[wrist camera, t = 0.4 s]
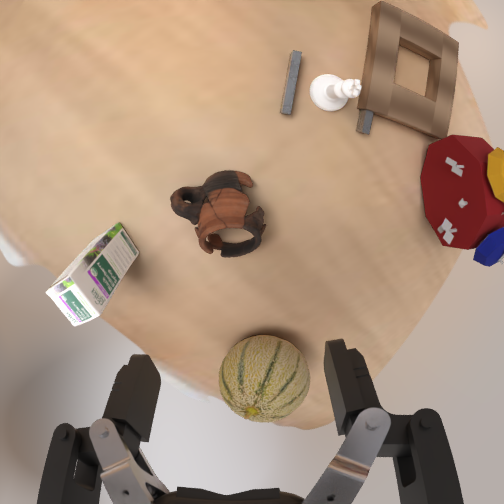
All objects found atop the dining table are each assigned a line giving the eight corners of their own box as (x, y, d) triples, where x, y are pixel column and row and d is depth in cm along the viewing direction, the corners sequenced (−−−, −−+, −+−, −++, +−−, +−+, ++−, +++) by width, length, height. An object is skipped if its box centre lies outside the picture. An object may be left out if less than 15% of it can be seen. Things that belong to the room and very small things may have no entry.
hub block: (372, 6, 23) (381, 0, 20) (446, 44, 24) (458, 42, 22) (356, 108, 30) (366, 108, 28) (433, 137, 32) (445, 140, 29)
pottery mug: (273, 175, 35) (283, 227, 31) (244, 218, 42) (248, 267, 38) (181, 151, 31) (173, 204, 26) (165, 202, 38) (158, 253, 33)
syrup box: (141, 252, 39) (102, 316, 27) (114, 267, 41) (73, 329, 28) (119, 220, 37) (69, 275, 24) (93, 238, 38) (43, 293, 25)
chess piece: (306, 105, 30) (328, 103, 22) (313, 69, 28) (338, 55, 19) (343, 115, 31) (377, 119, 22) (350, 81, 29) (386, 73, 20)
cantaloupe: (306, 364, 52) (318, 429, 38) (233, 376, 53) (231, 441, 40) (298, 309, 45) (315, 384, 32) (210, 324, 46) (201, 399, 33)
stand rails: (290, 53, 27) (293, 50, 25) (373, 77, 28) (380, 75, 26) (279, 112, 31) (281, 112, 29) (362, 132, 32) (369, 134, 30)
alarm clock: (445, 220, 38) (526, 288, 20) (404, 225, 38) (484, 305, 21) (450, 129, 31) (554, 163, 13) (405, 127, 31) (516, 158, 14)
